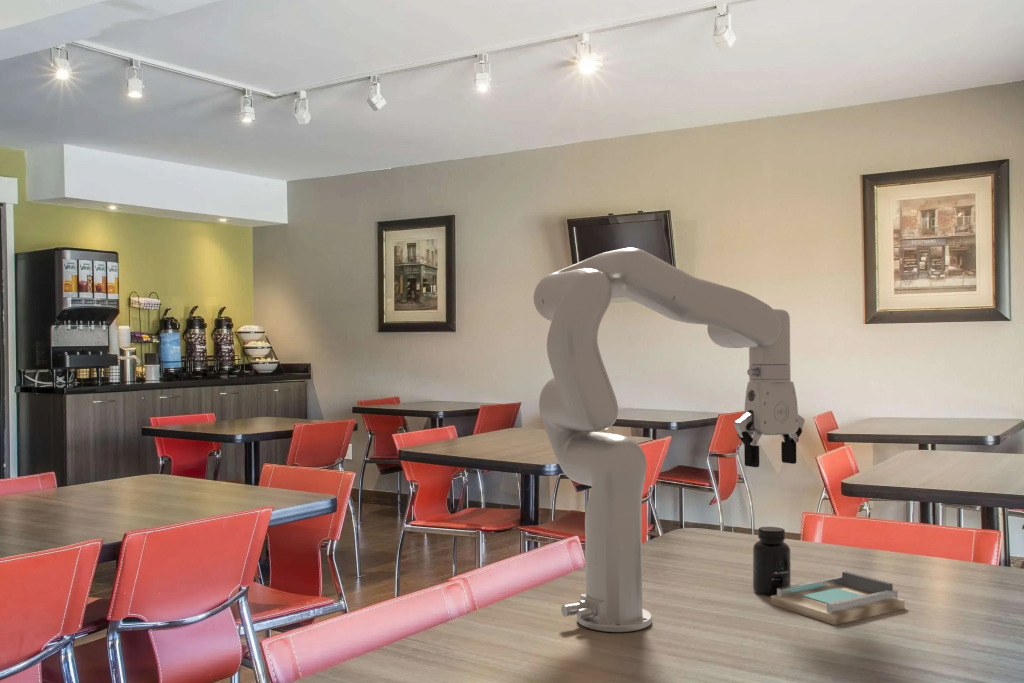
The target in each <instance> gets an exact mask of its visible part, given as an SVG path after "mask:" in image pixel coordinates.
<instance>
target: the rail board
mask: <svg viewBox="0 0 1024 683" xmlns="http://www.w3.org/2000/svg"><path fill="white" fill-rule="evenodd" d="M841 573H842V574H841V575H838V576H832V577H828V578H823V579H818V580H817V579H816V580H813V581H809V582H808V581H807V582H802V583H797V584H793V585H790V586H787V587H782V588H777V595H773V596H770V604H771V605H773V606H775V607H778V608H781V609H784V610H788V611H791V612H794V613H797V614H798V615H799V614H800V615H803V616H805V617H806V616H807V617H808V618H812V619H815V620H818V621H821V622H824V623H828V624H830V625H834V626H837V625H840V624H845V623H849V622H854V621H858V620H862V619H867V618H871V617H874V616H878V615H883V614H887V613H892V612H896V611H899V610H904V609H905V608H906V607H905V606H906V605H905V599H902V598H899V597H898V589H894V588H893V583H892V582H888V581H885V580H881V579H876V578H873V577H868V576H866V575H860V574H857V573H852V572H850V571H842V572H841Z"/></svg>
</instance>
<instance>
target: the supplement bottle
mask: <svg viewBox="0 0 1024 683" xmlns="http://www.w3.org/2000/svg"><path fill="white" fill-rule="evenodd" d="M785 535H786V531H785V529H784V528H781V527H776V526H761V527H758V534H757V538H758V539H759V540H758V541H757V542H755V543H754V545H753V546H752V589H753V591H754V592H755V593H757V594H758V595H761V596H766V597H771V596H773V595H777V588H782V587H787V586H791V548H790V546H789V545H788V544H787V543H786V542H784V541H785V540H786V536H785Z"/></svg>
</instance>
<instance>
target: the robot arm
mask: <svg viewBox="0 0 1024 683" xmlns="http://www.w3.org/2000/svg"><path fill="white" fill-rule="evenodd" d="M617 298H628V299H629V300H632V301H635V302H636V303H638V304H641V306H645V307H646V308H648V309H651V310H652V311H654V312H656V313H658V314H660V315H662V316H664V317H665V318H668V319H670V320H673V321H676V322H681V323H686V324H693V325H704V326H705V325H706V326H707V334H708V337H709V338H710V340H711V341H712V343H714V344H715V345H717V346H719V347H722V348H727V349H743V348H748V358H749V359H748V365H749V366H748V369H747V372H746V373H747V375H748V378H749V381H748V382H747V386H746V391H745V400H744V413H743V415H742V416H741V417H740V418H738V419H737V420H735V421H734V423H733V424H734V428H735V430H736V432H737V437H738V438H739V440H741V441H740V442H741V444H742V445H743V446H744V466H746V467H752V468H759V467H760V446H759V445H757V444H758V442H759V441H760V439H761V437H762V436H763V435H764V436H777V435H778V436H779V435H780V436H781V438H782V441H781V443H780V445H781V448H780V449H781V453H780V454H781V463H784V464H792V465H794V464H796V463H797V444H798V442H799V441H800V438H799V437H800V436H801V435H802V433H803V428H804V424H805V422H806V420H805V418H804V417H803V416H801V415H799V409H798V408H799V407H798V399H797V393H796V387H795V384H794V381H791V379H792V378H791V318H790V314H789V312H788V310H787V311H786V310H785V309H779V308H772V306H770V305H769V304H768V303H766V302H764V301H762V300H760V299H759V298H757V297H756V296H753V295H752V294H749V293H746V292H745V291H741V290H739V289H736V288H733V287H729V286H727V285H726V286H725V285H722V284H719V283H716V282H713V281H709V280H706V279H703V278H702V279H701V278H699V277H695V276H693V275H690V274H689V273H687V272H685V271H683V270H681V269H679V268H677V267H675V266H674V265H672V264H671V263H668V262H666V261H665V260H663V259H661V258H659V257H657V256H655V255H653V254H652V253H649V252H647V251H646V250H643V249H642V248H641V249H640V248H636V247H625V248H619V249H614V250H610V251H605V252H604V251H603V252H602V253H598V254H596V255H593V256H591V257H588V258H586V259H584V260H582V261H579V262H577V263H574V264H572V265H570V266H567V267H565V268H563V269H559V270H556V271H554V272H552V273H549V274H547V275H545V276H544V277H543V278H542V279H540V280H539V282H538V283H537V285H536V286H535V289H534V291H533V304H534V307H535V309H536V311H537V312H538V313H539V314H540V316H541V317H542V318H544V319H546V320H548V321H551V322H550V325H549V329H548V332H547V333H548V334H547V336H546V337H547V339H546V353H547V357H548V361H549V364H550V368H551V371H552V374H553V377H552V378H551V379H549V380H548V381H546V383H545V385H544V386H543V388H542V390H541V391H540V395H539V400H538V409H539V415H540V419H541V421H542V422H541V423H542V424H543V427H544V430H545V433H546V435H547V437H548V440H549V444H550V445H551V448H552V450H553V452H554V453H553V454H554V456H555V458H556V461H557V463H558V465H559V467H560V470H562V473H564V475H565V476H566V477H567V478H568V479H569V480H571V481H573V482H575V483H577V484H579V485H585V486H589V487H591V490H590V493H589V497H588V500H587V503H586V506H585V515H584V532H585V534H584V535H585V536H584V537H585V539H584V541H585V542H584V543H585V544H584V545H585V548H584V550H585V552H584V553H585V556H584V557H585V593H583V594H580V600H579V599H578V600H577V601H576V602H575V603H573V602H571V603H567V604H562V605H561V607H560V608H561V609H560V611H561V614H562V616H563V617H564V618H565V617H571V616H575V615H576V621H577V622H578V623H579V624H580V625H581V626H583V627H585V628H587V629H591V630H593V631H598V632H599V631H600V632H609V633H627V632H629V633H630V632H634V631H640V630H643V629H645V628H648V627H649V626H650V625H651V624H652V622H653V620H652V619H653V615H652V614H651V612H650V611H649V610H646V609H644V608H643V549H642V548H643V544H642V543H643V542H642V541H643V540H642V536H643V535H642V534H643V533H642V532H643V531H642V530H643V529H642V506H643V504H642V503H643V493H644V487H645V481H646V476H647V467H648V466H647V459H646V454H645V452H644V450H643V448H642V446H640V444H639V443H637V442H636V441H635V440H634V439H632V438H630V437H627V436H625V435H621V434H616V433H610V432H603V431H605V430H608V429H610V428H611V427H612V426H613V425H614V424H615V423H616V421H617V419H618V416H619V405H618V400H617V397H616V394H615V392H614V388H613V386H612V383H611V381H610V377H609V375H608V372H607V370H606V366H605V364H604V361H603V359H602V354H601V352H600V348H599V343H598V334H599V329H600V325H601V323H602V320H603V318H604V316H605V314H606V312H607V311H608V309H609V306H610V303H611V301H612V299H617Z"/></svg>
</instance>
